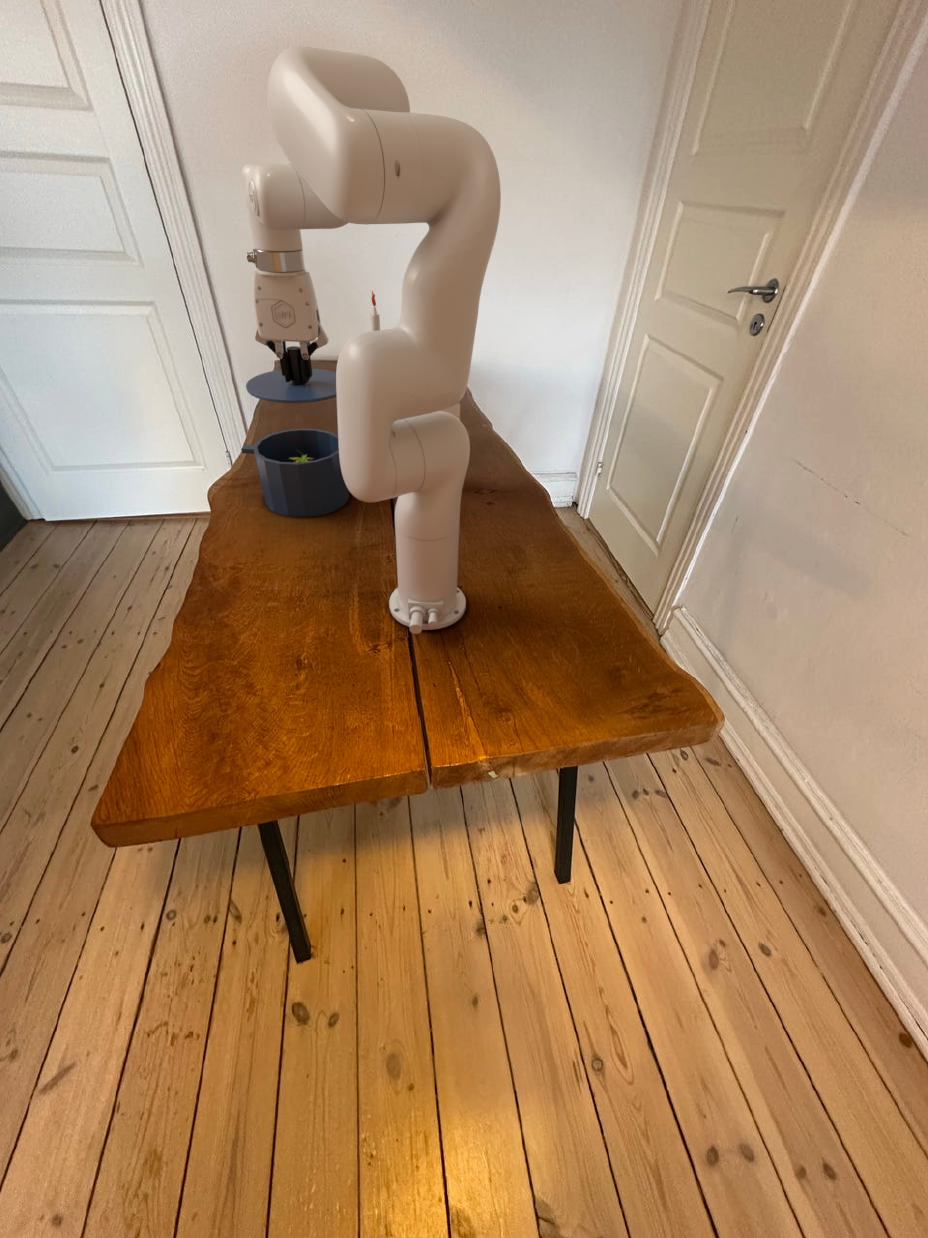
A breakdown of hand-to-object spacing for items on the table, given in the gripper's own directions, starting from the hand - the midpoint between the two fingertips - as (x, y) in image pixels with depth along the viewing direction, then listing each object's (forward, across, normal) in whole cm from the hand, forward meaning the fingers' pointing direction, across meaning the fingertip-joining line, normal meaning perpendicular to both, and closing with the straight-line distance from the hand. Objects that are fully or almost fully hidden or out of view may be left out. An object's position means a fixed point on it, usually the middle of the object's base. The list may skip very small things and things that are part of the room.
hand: (298, 379), depth 101 cm
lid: (+1, 0, 0) cm, 1 cm away
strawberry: (+24, -2, +1) cm, 25 cm away
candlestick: (+25, +11, +28) cm, 39 cm away
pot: (+25, -2, +1) cm, 25 cm away
